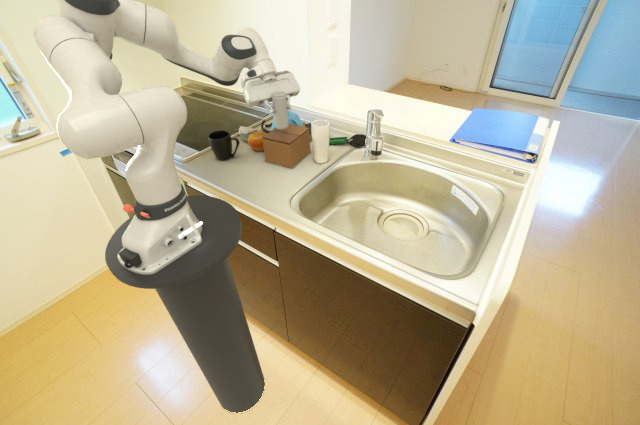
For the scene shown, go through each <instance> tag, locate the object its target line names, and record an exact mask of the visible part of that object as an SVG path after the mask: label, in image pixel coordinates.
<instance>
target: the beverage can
mask: <svg viewBox="0 0 640 425" xmlns="http://www.w3.org/2000/svg"><path fill="white" fill-rule="evenodd" d="M271 103H272V107H274V109H275V111H276V112H275V113H274V119H275V127H276V128H277V129H279V130H283V129H287V128H288V126H289V124H288V112H287V111H288V110H287V101H286V95H285V93H284V92H274V93H273V94H272V102H271Z"/></svg>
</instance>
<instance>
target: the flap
mask: <svg viewBox="0 0 640 425" xmlns="http://www.w3.org/2000/svg"><path fill="white" fill-rule="evenodd" d="M269 131H270V132H269V133H267V132H266V135H264V136H262V138H266V139H270V140H275V141H279V142H283V143H288V144H291V143H292V142H293V141H295V140H296V139H297V138H299V137H300V136H299V135H294V134H290V133H285V132H280V131H276V130H272V129H271V130H269Z"/></svg>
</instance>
